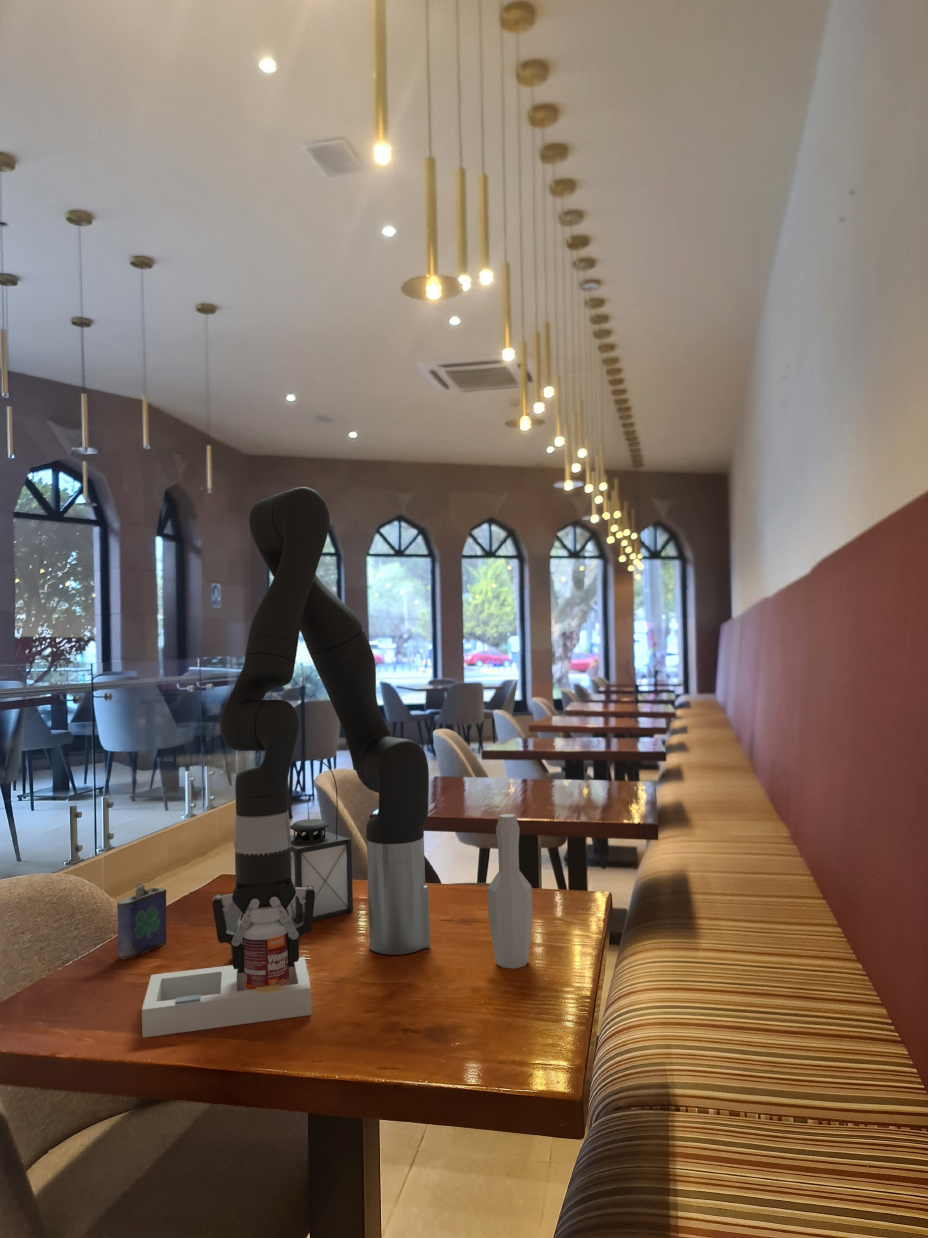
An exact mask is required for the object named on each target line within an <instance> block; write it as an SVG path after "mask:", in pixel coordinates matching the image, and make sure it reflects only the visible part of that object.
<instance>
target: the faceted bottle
mask: <svg viewBox="0 0 928 1238" xmlns="http://www.w3.org/2000/svg"><path fill="white" fill-rule="evenodd" d="M496 823H497V825H496V827H495V836H496V840H497V841H496V843H497V850H498V851H497V852H498V853H497V854H498V872H497V873H496V875H495V876H494V878H492V881H491V882H490V883H489V885H488V886H487V910H488V911H487V912H488V913H487V917H488V922H489V928H490V935H491V942H492V947H493V953H494V954H493V956H494V958H495V959H494V961H495V964H496V965H498V966H499V967H501V968H507V969H513V970H514V969H518V968H523V967H525V966H526V965H527V964H528V963H529V957H530V948H531V947H530V946H531V937H532V936H531V935H532V927H533V926H532V925H533V890H532V889H533V887H532V885H531V883H530V882H529V881H528V879H527V878H526V877H525V876H524V874H523V873H522V872H521V870H520V862H519V861H520V854H519V845H520V830H521V829H520V825H519V823H518V820H517V817H516V815H515V814H511V813H503V814H500V815H498V820H497V822H496Z"/></svg>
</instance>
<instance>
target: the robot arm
mask: <svg viewBox="0 0 928 1238" xmlns="http://www.w3.org/2000/svg"><path fill="white" fill-rule="evenodd" d="M330 520H331V519H330V511H329V508H328V505H327V503H326V501H325V499H324V498H323V496H321V495H320V494H319V493H318V491H316V490H314V489H312V488H310V487H307V486H306V487H305V486H302V487H301V486H299V487H294V488H291V489H287V490H285V491H283V492H279V493H277V494H276V493H275V494H274V495H271V496H268V497H266V498H264V499H262V500H259V501H258V502H256V503H255V504H254V505H253V506H252V508H251V510H250V512H249V530H250V534H251V536H252V538H253V541H254V543H255V546H256V547H257V549H258V552H259V554H260V555H261V557H262V559H263V561H264V562H265V565H266V566H267V568H268V570H269V571H270V573H271V575H272V576H273V579H272V581H271V583H270V585H269V587H268V590H267V591H266V593H265V595H263V599H262V600H261V602H260V604H259V606H258V608H257V609H256V611H255V614H254V615H253V619H252V622H251V625H250V628H249V632H248V637H247V644H246V648H245V653H244V654H245V655H244V661H243V665H242V669H241V671H240V673H239V675H238V677H237V679H236V681H235V684H234V686H233V688H232V690H231V693H230V695H229V696H228V699H227V701H226V703H225V705H224V707H223V710H222V714H221V717H220V724H219V725H220V735H221V738H222V740H223V742H224V744H225V745H226V746H227V747H228V748H229V749H231V750H234V751H237V752H239V751H240V752H256V751H257V752H264V757H263V760H262V762H261V765H260V766H255V767H251V768H246V769H243V770H242V771H240V772H238V773H237V775H236V778H235V783H234V786H235V787H234V788H235V789H234V791H235V793H234V794H235V823H234V841H233V846H234V867H235V868H234V869H235V871H234V872H235V874H234V875H235V876H234V877H235V887H234V889H233V891H232V892H231V893H227V894H223V895H221V894H218V893H217V894H215V895H213V898H212V910H213V911H212V912H213V917H214V918H213V919H214V924H215V930H216V937H217V942H218V943H220V944H224V943H225V944H229V945H230V947H231V946H232V956H231V957H232V965H233V968H234V969H238V973H243V941H242V939H243V937H244V933H245V931H247V929H248V927H249V925H250V923H251V911H252V910H256V909H257V908H260V907H269V906H272V908H275V907H277V908H279V916H280V921H281V923H282V925H283V926H284V927H286V930H287V933H288V948H289V967H294V962H298V960H299V957H300V945H299V943H300V937H302V936H303V935H305V934H310V933H311V932H312V930H313V911H314V901H315V891H314V887H313V886H312V885H308V886H306V887H295V886H294V884H293V882H292V870H291V835H292V834H291V829H290V826H291V821H290V816H289V795H288V793H289V792H288V781H289V774H290V769H291V767H292V766H291V764H292V759H293V755H294V752H295V751H294V750H295V747H296V744H297V740H298V736H299V730H300V720H299V715H298V713H297V711H296V709H295V707H294V706H293V704H291V702H289V701H287V700H285V699H264V698H265V696H266V695H267V694H268V692H271V691H272V690H275V689H278V688H282V687H284V686H286V685H289V684H290V683H291V681H292V679H293V677H294V672H295V667H296V666H295V665H296V659H297V652H298V646H299V639H300V634H301V636H302V639H303V641H304V643H305V646H306V649H307V651H308V654H309V656H310V658H311V660H312V663H313V665H314V667H315V670H316V672H317V675H318V676H319V678H320V681H321V682H322V685H323V687H324V690H325V691H326V694H327V696H328V699H329V701H330V703H331V706H332V707H333V710H334V712H335V714H336V716H337V718H338V721H339V723H340V726H341V729H342V731H343V734H344V737H345V741H346V744H347V745H346V746H347V747H348V751H349V753H350V757H351V760H352V764H353V766H354V769H355V772H356V775H357V777H358V779H359V780H360V782H361V784H362V785H364V787H366V788H367V789H368V790H369V791H372V792H375V793H378V811H377V813H376V815H375V816H374V817H372V818H370V819H369V820H368V821H367V823H366V829H365V832H366V857H367V858H366V861H367V862H366V866H367V867H366V868H367V869H366V870H367V897H368V899H367V900H368V901H367V903H368V904H367V905H368V937H369V939H368V940H369V949H370V950H372V951H373V952H375V953H376V954H377V953H378V954H382V955H389V956H392V955H396V956H397V955H407V954H412V953H415V952H418V951H420V950H424V949H428V948H431V932H430V931H431V930H430V926H431V925H430V899H429V898H430V895H429V886H428V885H427V884H426V867H425V864H426V863H425V862H426V861H425V839H424V838H425V825H426V822H427V819H428V816H429V799H430V798H429V796H430V795H429V794H430V793H429V791H430V790H429V788H430V786H429V785H430V777H429V776H430V773H429V761H428V758H427V754H426V752H425V750H424V749H423V747H422V746H421V745H420V744H419V743H418V742H416V741H414V740H412V739H409V738H401V737H394V736H393V734H392V733H391V730H390V729H389V727H388V725H387V723H386V721H385V719H384V717H383V714H382V713H381V709H380V707H379V703H378V699H377V667H376V659H375V655H374V652H373V649H372V646H371V644H370V642H369V639H368V636H367V635H366V632H365V629H364V628H363V625H362V622H361V621H360V619H359V617H358V616H357V615H356V614H355V613H354V611H353V610H352V609H351V608H350V607H349V606H348V605H346V603H345V602H343V601H342V599H340V598H339V597H338V596H337V595H336V594H335V593H333V591H331V590H330V589H329V588H328V587H327V586H326V585H325V584H324V582H322V581H321V580H320V578H319V577H318V575H317V574H316V573H317V570H318V566H319V563H320V561H321V556H322V555H323V552H324V548H325V547H326V546H325V545H326V543H327V542H326V541H327V539H328V536H329V531H330V526H331V525H330ZM290 766H291V767H290ZM294 896H298V897H299V901H300V903H301V904H304V907H303V917H302V922H301V923H299V924H297V925H296V924H295V923H294V921H293V919H292V917H291V915H290V913H289V911H288V910H287V907H288V906H289V904H290V903H291V901H292V900H293V898H294ZM231 902H234V903H235V905H236V906H237V907H238V908H239V909H240V911H241V912H242V914H241V916H240V918H239V920H238V923H237V925H236V928H235V930H234V932H232V931H228V930H227V927H226V920H225V913H224V912H227V911H228V909H229V905H230V903H231ZM280 911H281V913H280ZM249 915H250V916H249Z"/></svg>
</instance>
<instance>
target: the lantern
mask: <svg viewBox="0 0 928 1238" xmlns="http://www.w3.org/2000/svg"><path fill="white" fill-rule="evenodd" d="M305 760H314V761H317V762H320V763H322V764H323V765H324V766H325V767H327V768H328V770H329V771H330V772H331V775H332V778H333V780H334V787H335V793H336V795H335V796H336V798H335V799H336V800H335V801H336V804H335V805H336V814H335V815H336V816H335V817H336V818H335V833H332V832H329V831H326V828H328V827H329V826H330V824H329V823H328V822H326V821H325V820H323V819H320V818H319V819H318V818H307V819H301V820H296V821H295V822H293V823H292V824H290V830H292V831H293V834H291V870H292V882H293V884H294V886H295V887H306V886H308V885H312V886H313V887H314V891H315V901H314V911H313V922H319V921H321V920H326V919H329V918H333V917H338V916H342V915H345V914H351V913H354V902H353V900H354V899H353V897H354V896H353V892H354V891H353V865H352V864H353V863H352V861H353V860H352V859H353V858H352V857H353V856H352V855H353V854H352V838H348V837H344V836H342V835H338V807H339V806H338V805H339V804H338V803H339V801H338V788H337V787H338V786H337V781H336V777H335V775H334V773H333V771H332V769H331V768H330V767H329V765H327V764H326V763H325V762H323V761H322V760H320V759H318V758H310V757H307V758H305V757H304V758H301V759H298V760H296V761H294V762H291V766H290V768H291V767H292V766H293V765H294V764H296V763H298V762H300V761H305ZM303 907H304V904H301V903H300V901H299V897H298V896H294V898H293V900H292V901H291V903H290V904H289V906H288V907H287V910H288V911H289V913H290V915H291V917H292V919H293V921H294V923H295V924H296V925H297V924H299V923H301V922H302V917H303ZM313 922H312V923H313Z"/></svg>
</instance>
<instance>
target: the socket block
mask: <svg viewBox="0 0 928 1238" xmlns="http://www.w3.org/2000/svg"><path fill="white" fill-rule="evenodd" d="M307 967H308V966H307V963H306V958H305V956H299V960H298V962H294V967H289V984H288V985H285V986H279V985H273V986H265V987H257V988H256V989H253V990H245V989H244V983H243V973H238V969H234V968H233V964H232V965H223V966H216V967H215V966H214V967H207V968H197V969H189V970H181V971H172V972H166V973H157V974H156V973H155V974H150V979H149V983H148V986H147V990H146V993H145V996H144V997H145V998H144V1000H143V1003H142V1009H141V1025H142V1026H141V1027H142V1029H141V1032H142V1033H141V1034H142V1038H144V1039H145V1038H151V1037H158V1036H165V1035H172V1034H174V1035H175V1034H179V1033H186V1032H187V1033H188V1032H194V1031H201V1030H210V1029H215V1028H217V1029H219V1028H225V1027H231V1026H238V1025H245V1024H254V1023H260V1022H261V1023H262V1022H267V1021H269V1022H271V1021H277V1020H284V1019H290V1018H291V1019H292V1018H297V1017H305V1016H312V987H311V983H310V978H309V972H308V968H307Z"/></svg>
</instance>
